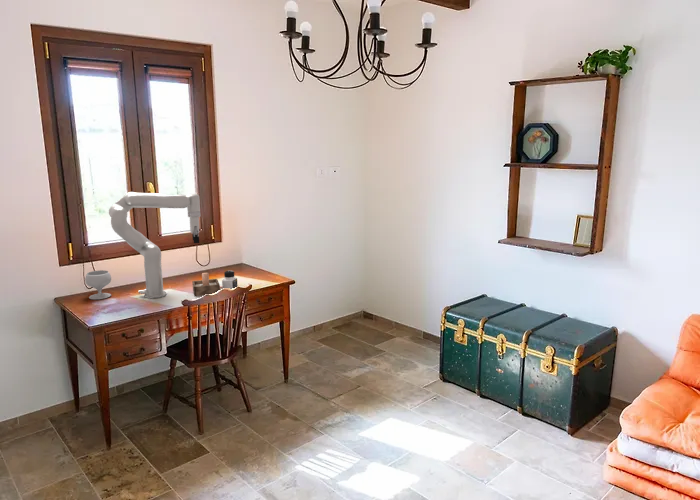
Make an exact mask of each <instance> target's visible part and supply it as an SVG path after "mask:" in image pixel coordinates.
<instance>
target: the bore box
mask: <svg viewBox="0 0 700 500" xmlns="http://www.w3.org/2000/svg"><path fill="white" fill-rule="evenodd" d="M220 285H221V284H220V282H219V281H218V278H211V279H210V278H209V285H205V286H203V284H202V279H200V280H192V292H193V295H194V297H195V296H196V297H202V295H205V294H212V293H215V292H217V291H218V290H220V291H221V286H220Z"/></svg>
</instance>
